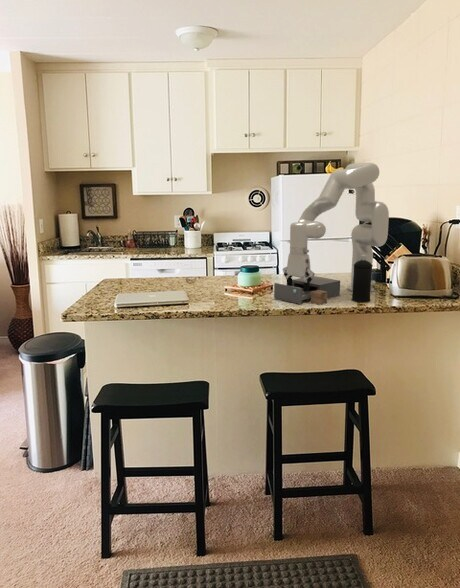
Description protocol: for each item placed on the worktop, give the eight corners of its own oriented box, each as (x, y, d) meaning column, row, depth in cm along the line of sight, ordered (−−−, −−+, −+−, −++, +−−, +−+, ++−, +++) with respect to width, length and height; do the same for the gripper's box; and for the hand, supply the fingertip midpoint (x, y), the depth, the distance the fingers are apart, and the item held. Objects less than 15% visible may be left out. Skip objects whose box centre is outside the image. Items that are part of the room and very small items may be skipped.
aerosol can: (374, 301, 227) (377, 256, 223) (360, 303, 223) (363, 257, 219) (361, 297, 234) (363, 253, 230) (347, 299, 230) (350, 254, 226)
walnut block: (317, 300, 227) (318, 289, 226) (326, 302, 223) (327, 291, 222) (310, 302, 223) (310, 291, 222) (319, 304, 220) (320, 293, 219)
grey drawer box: (312, 290, 249) (312, 275, 248) (339, 295, 238) (340, 280, 236) (291, 294, 239) (291, 279, 237) (319, 300, 228) (319, 285, 226)
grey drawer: (296, 293, 240) (296, 278, 239) (322, 298, 230) (323, 283, 228) (273, 298, 230) (273, 283, 228) (299, 304, 219) (300, 288, 218)
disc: (295, 292, 234) (296, 288, 233) (308, 294, 229) (308, 290, 228) (285, 294, 229) (285, 290, 229) (297, 297, 224) (298, 293, 224)
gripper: (319, 252, 221) (318, 291, 225) (289, 248, 233) (288, 285, 237) (308, 254, 216) (307, 293, 220) (277, 250, 228) (277, 287, 232)
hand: (297, 289), depth 229 cm, fingers open, 9 cm apart
